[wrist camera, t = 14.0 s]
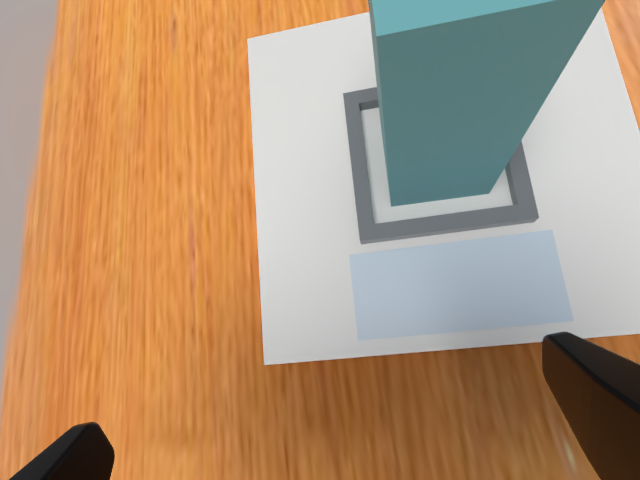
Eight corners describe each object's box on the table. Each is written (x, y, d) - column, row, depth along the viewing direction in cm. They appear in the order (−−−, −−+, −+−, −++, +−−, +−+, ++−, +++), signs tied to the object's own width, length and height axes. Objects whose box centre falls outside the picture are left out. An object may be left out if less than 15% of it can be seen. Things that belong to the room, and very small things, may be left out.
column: (489, 193, 21) (611, -12, 9) (390, 206, 22) (376, 36, 10) (472, 107, 22) (560, -180, 10) (380, 122, 23) (355, -125, 11)
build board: (685, 329, 19) (713, 328, 17) (269, 363, 22) (258, 366, 21) (580, -22, 24) (593, -50, 22) (252, 49, 27) (242, 29, 26)
